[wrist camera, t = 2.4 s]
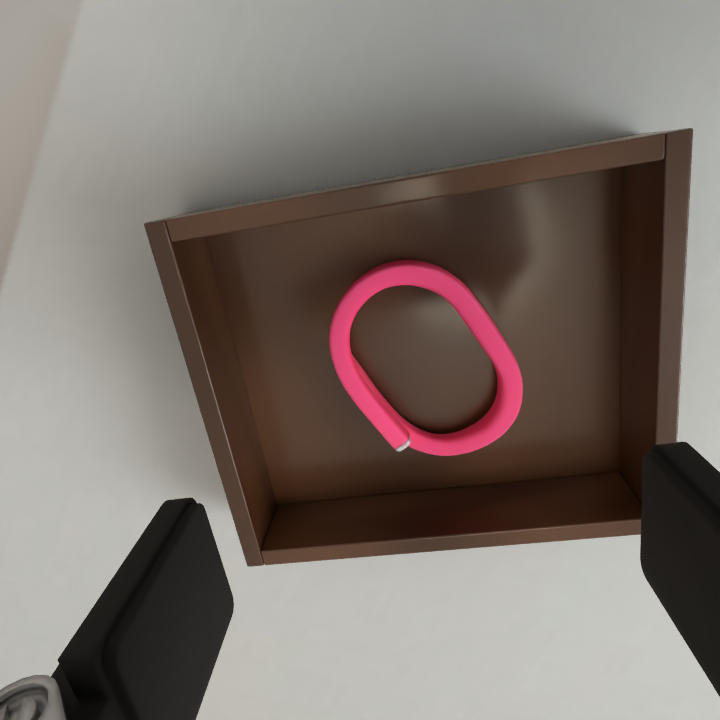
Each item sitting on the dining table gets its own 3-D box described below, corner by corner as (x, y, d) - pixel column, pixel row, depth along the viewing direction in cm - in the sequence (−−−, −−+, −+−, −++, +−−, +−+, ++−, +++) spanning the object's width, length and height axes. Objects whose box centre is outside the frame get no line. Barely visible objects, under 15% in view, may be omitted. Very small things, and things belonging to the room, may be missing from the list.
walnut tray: (640, 133, 17) (694, 127, 14) (634, 479, 22) (673, 532, 18) (184, 213, 19) (142, 223, 16) (267, 514, 24) (247, 567, 20)
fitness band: (300, 318, 20) (292, 330, 18) (427, 224, 18) (429, 230, 17) (421, 469, 22) (422, 490, 20) (545, 396, 20) (556, 414, 19)
